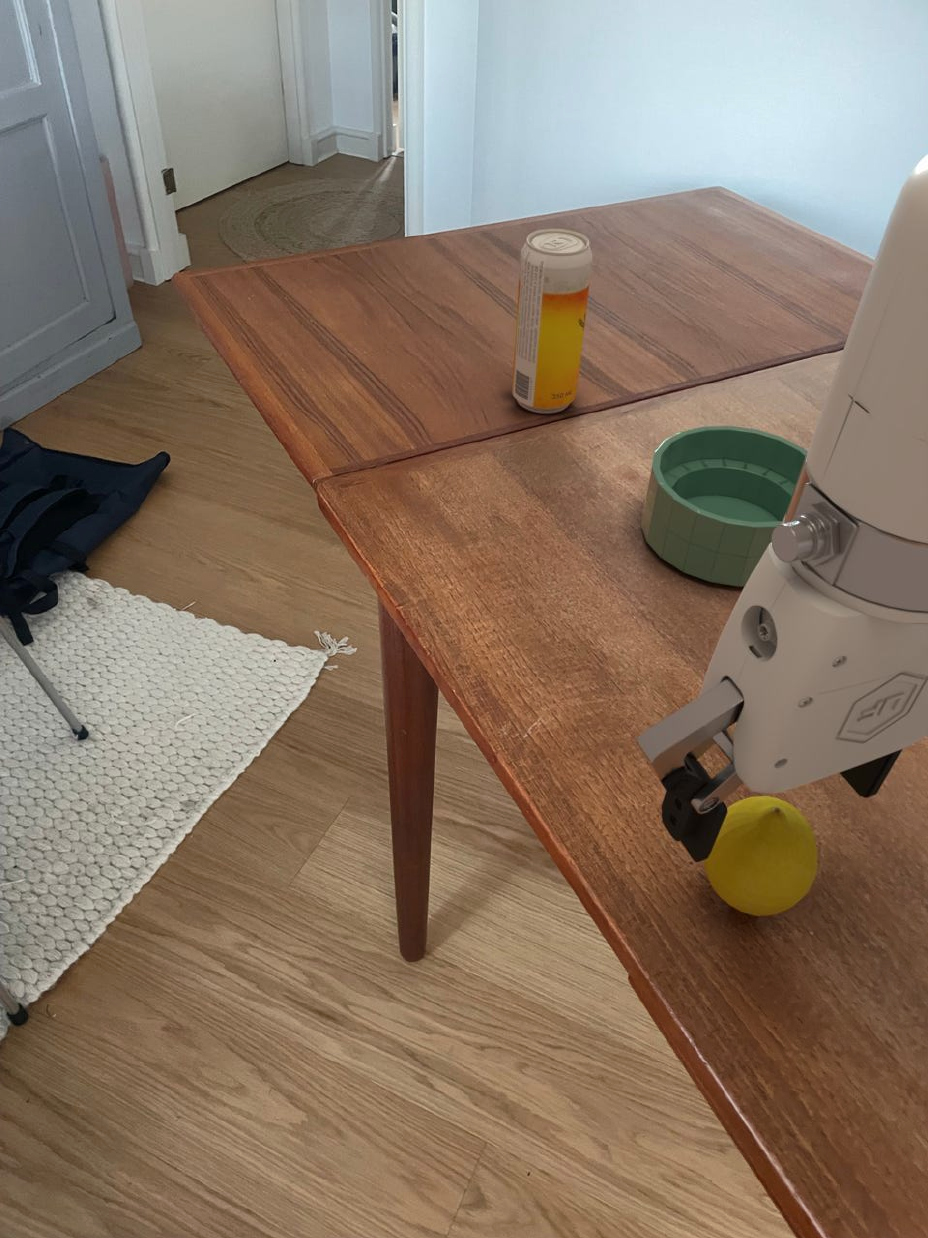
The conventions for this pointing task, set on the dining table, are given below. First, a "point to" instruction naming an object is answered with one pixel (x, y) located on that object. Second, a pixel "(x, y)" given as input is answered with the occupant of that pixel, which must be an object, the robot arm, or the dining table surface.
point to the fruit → (763, 856)
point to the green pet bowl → (719, 499)
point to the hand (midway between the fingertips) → (768, 804)
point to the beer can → (550, 319)
